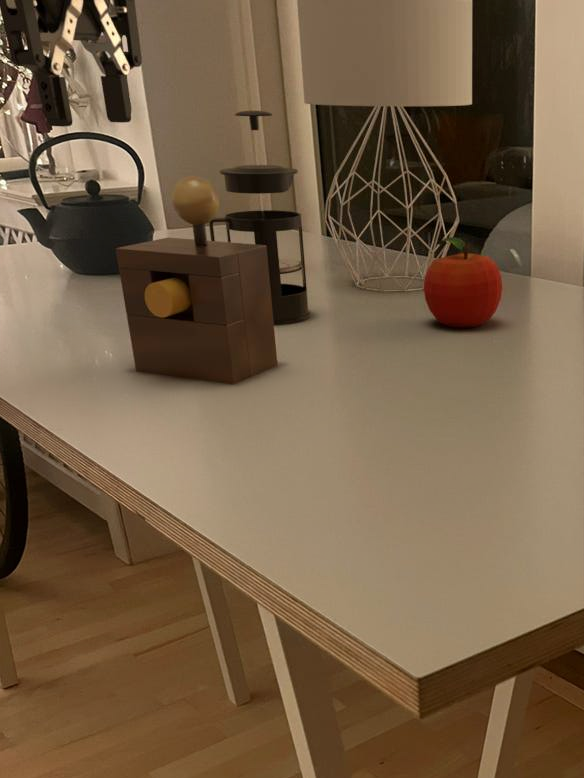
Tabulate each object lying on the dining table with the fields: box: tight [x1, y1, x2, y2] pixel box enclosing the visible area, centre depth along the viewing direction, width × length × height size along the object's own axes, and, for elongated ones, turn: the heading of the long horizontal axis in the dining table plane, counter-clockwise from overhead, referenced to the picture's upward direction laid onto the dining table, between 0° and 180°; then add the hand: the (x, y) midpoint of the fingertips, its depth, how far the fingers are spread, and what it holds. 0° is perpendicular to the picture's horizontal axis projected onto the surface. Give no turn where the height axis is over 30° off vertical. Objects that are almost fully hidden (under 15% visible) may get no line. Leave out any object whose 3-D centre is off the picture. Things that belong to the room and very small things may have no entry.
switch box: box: [115, 175, 278, 385], centre depth 98 cm, size 8×12×18 cm, turn 67°
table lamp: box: [296, 0, 473, 292], centre depth 134 cm, size 22×22×40 cm
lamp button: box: [145, 278, 191, 318], centre depth 95 cm, size 3×3×3 cm
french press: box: [208, 110, 311, 326], centre depth 118 cm, size 12×9×23 cm
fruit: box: [423, 236, 503, 329], centre depth 119 cm, size 10×10×10 cm
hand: (91, 123), depth 88 cm, fingers open, 7 cm apart
